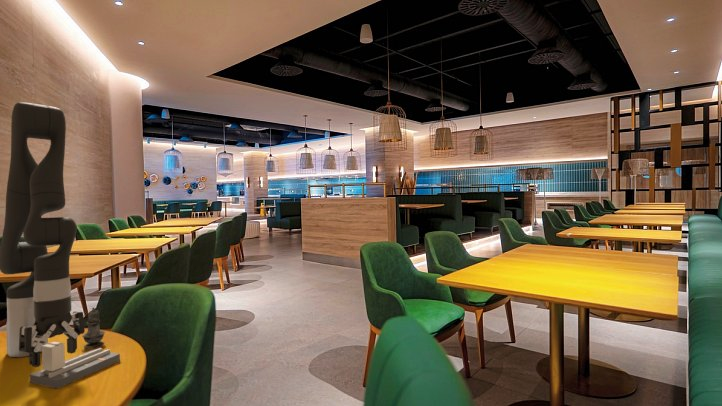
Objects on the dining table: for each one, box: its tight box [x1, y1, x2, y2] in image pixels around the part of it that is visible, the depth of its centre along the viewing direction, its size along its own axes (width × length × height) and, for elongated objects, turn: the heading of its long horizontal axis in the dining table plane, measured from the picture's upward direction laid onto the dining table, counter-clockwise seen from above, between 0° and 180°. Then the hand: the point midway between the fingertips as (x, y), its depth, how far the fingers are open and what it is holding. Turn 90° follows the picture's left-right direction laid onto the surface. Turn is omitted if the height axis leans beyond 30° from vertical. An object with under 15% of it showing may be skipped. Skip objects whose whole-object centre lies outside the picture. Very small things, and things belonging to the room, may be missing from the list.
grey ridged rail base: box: [29, 347, 121, 390], centre depth 107 cm, size 10×17×3 cm, turn 161°
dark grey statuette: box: [82, 306, 106, 350], centre depth 124 cm, size 6×6×12 cm
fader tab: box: [41, 341, 66, 375], centre depth 101 cm, size 4×3×7 cm
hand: (54, 359), depth 101 cm, fingers open, 8 cm apart
